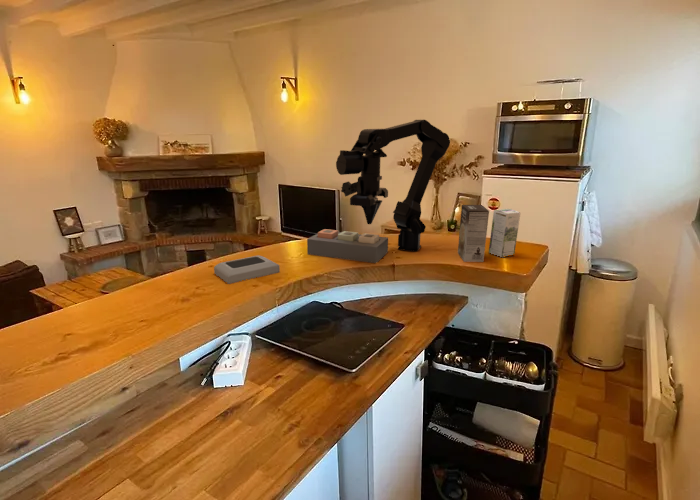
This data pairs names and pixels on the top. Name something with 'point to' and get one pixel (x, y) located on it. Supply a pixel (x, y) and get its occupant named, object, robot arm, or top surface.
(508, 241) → the syrup box
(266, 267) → the grey flat block
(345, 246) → the gray keypad housing
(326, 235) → the terracotta key
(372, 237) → the cream key
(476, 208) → the coffee box
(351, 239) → the sage key
